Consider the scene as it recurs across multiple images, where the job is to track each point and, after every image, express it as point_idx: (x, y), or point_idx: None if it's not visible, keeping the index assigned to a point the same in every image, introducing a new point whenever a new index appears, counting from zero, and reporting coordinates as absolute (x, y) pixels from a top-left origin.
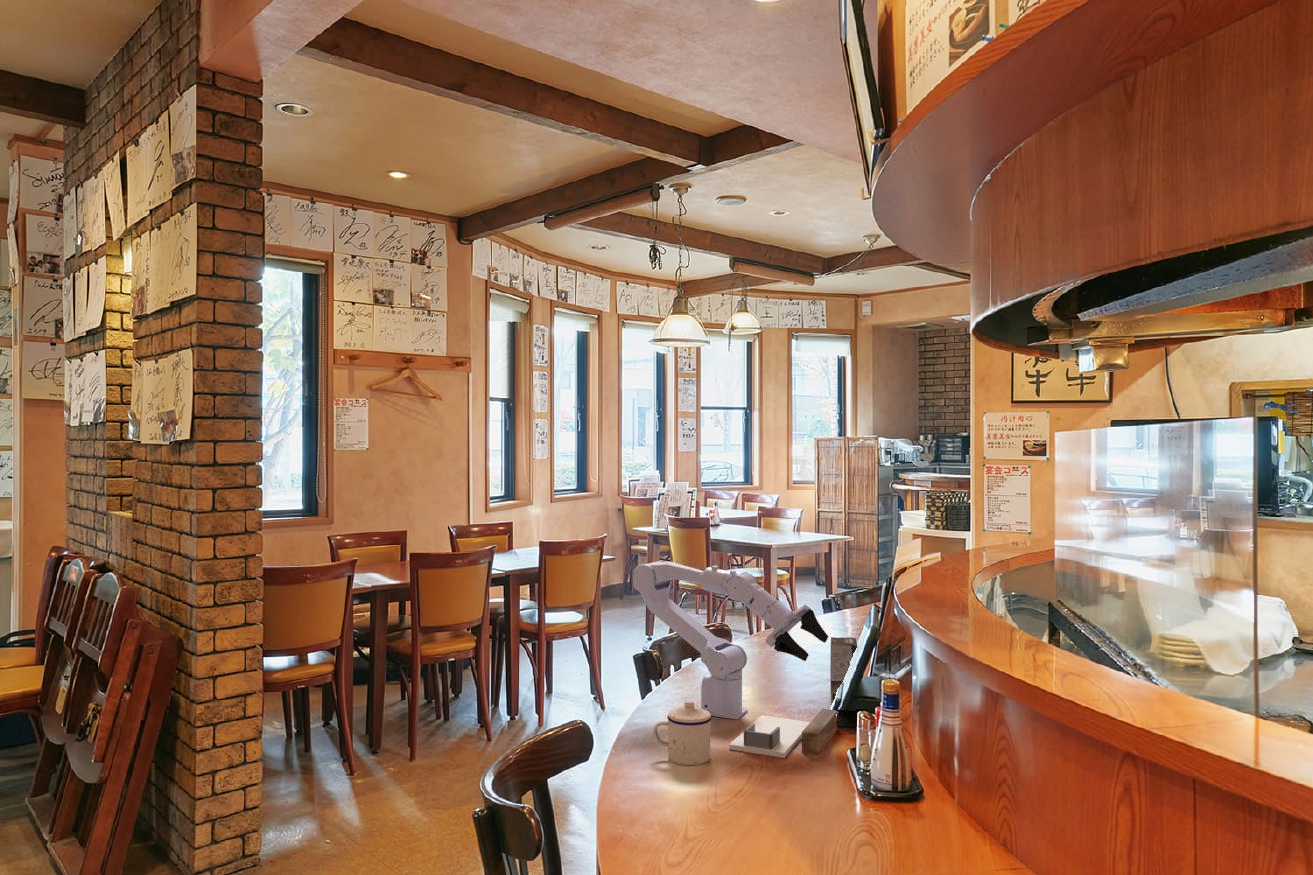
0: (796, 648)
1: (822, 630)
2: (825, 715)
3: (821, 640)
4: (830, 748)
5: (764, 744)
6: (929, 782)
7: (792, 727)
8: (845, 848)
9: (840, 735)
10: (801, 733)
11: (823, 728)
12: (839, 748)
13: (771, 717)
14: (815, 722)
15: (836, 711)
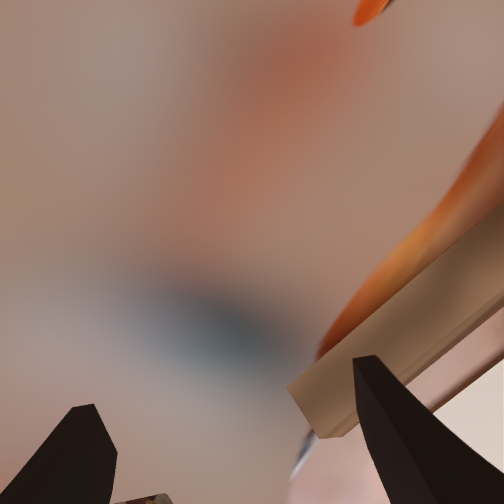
0: (444, 431)
1: (42, 457)
2: None
3: (111, 480)
4: (445, 249)
5: None
6: (358, 21)
7: (485, 453)
8: None
9: (342, 336)
10: (488, 372)
11: (458, 241)
12: (417, 240)
13: None
14: (451, 304)
15: (297, 378)
